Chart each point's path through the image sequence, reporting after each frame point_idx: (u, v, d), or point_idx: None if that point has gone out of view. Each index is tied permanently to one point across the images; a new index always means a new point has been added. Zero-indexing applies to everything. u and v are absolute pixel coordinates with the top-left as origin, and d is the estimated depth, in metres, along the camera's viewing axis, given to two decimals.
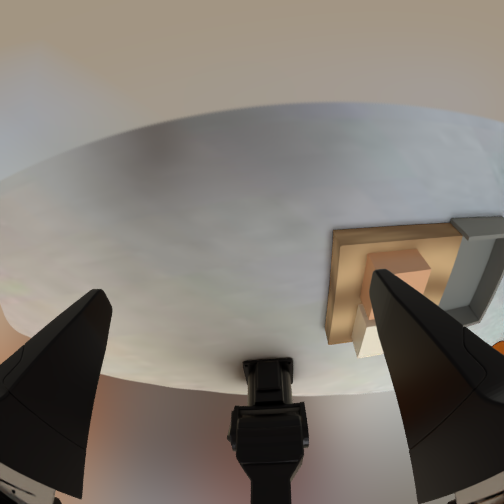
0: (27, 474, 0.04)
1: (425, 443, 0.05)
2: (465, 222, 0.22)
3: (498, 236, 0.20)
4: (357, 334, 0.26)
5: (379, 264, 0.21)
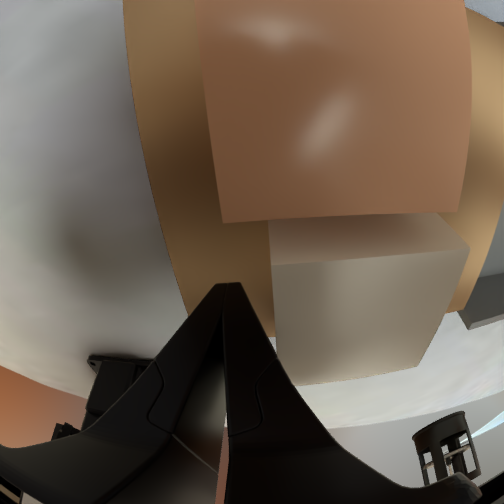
0: None
1: None
2: None
3: None
4: None
5: None
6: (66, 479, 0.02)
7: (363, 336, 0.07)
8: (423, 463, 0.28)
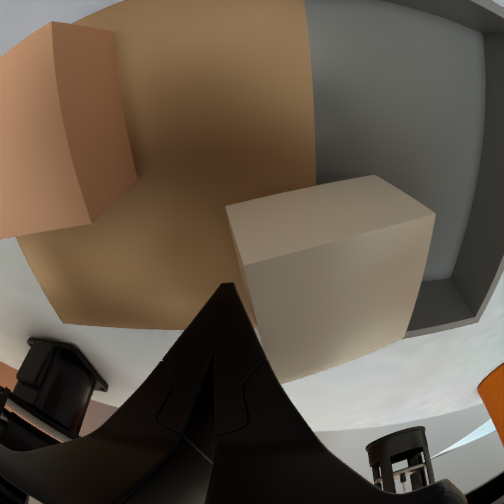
0: None
1: None
2: None
3: None
4: (251, 311, 0.09)
5: None
6: (77, 484, 0.02)
7: (346, 319, 0.07)
8: (377, 477, 0.28)
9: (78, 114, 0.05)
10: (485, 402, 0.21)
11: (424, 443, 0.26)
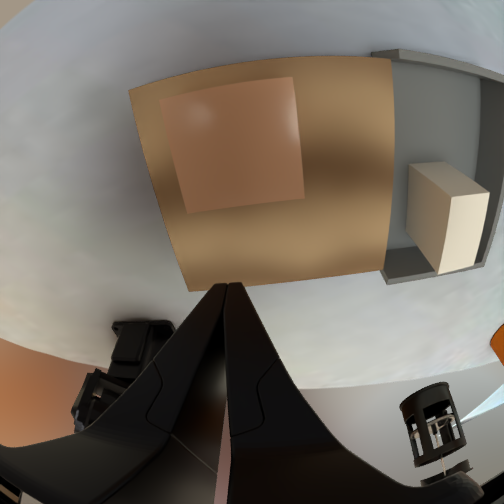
0: None
1: None
2: None
3: (471, 68, 0.09)
4: (462, 241, 0.13)
5: None
6: (65, 478, 0.02)
7: None
8: (411, 433, 0.34)
9: None
10: (498, 353, 0.26)
11: (450, 396, 0.31)
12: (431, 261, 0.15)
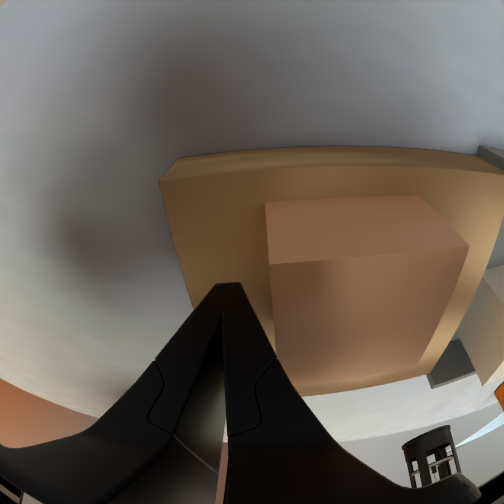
0: None
1: None
2: None
3: None
4: None
5: (288, 228, 0.07)
6: (67, 479, 0.02)
7: None
8: (411, 470, 0.31)
9: None
10: (501, 402, 0.24)
11: (451, 439, 0.29)
12: (479, 372, 0.12)
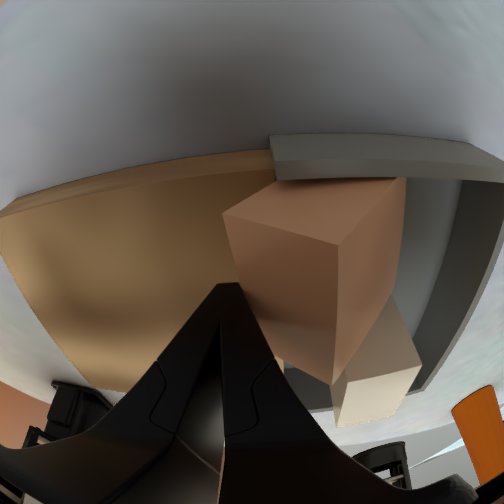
0: None
1: None
2: (313, 138, 0.09)
3: (442, 169, 0.06)
4: (371, 406, 0.10)
5: (292, 216, 0.06)
6: (69, 480, 0.02)
7: None
8: None
9: None
10: (457, 424, 0.24)
11: (403, 456, 0.29)
12: (334, 409, 0.12)
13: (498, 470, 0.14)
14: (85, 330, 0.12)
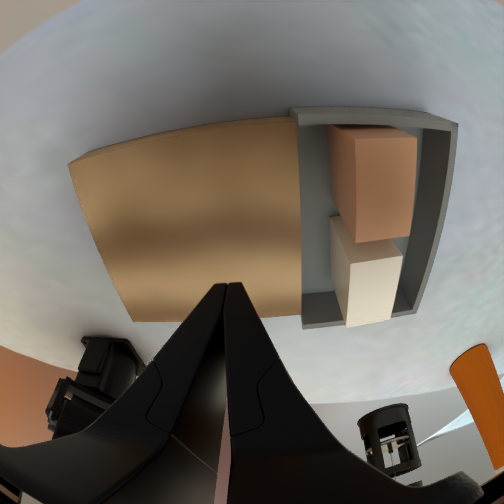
0: None
1: None
2: (317, 108, 0.13)
3: (395, 120, 0.11)
4: (371, 300, 0.15)
5: (385, 135, 0.10)
6: (64, 478, 0.02)
7: None
8: None
9: None
10: (456, 381, 0.29)
11: (407, 418, 0.34)
12: (342, 313, 0.17)
13: (498, 423, 0.19)
14: (144, 253, 0.17)
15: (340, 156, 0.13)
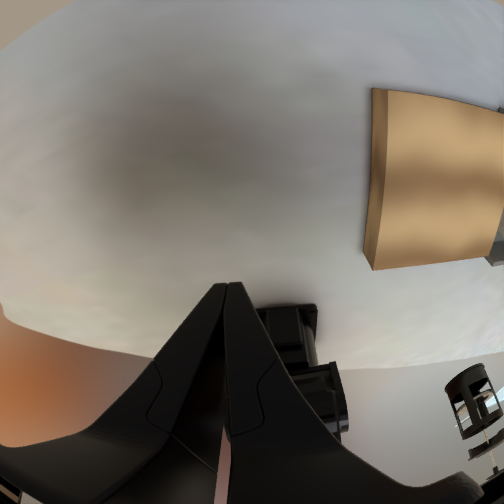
0: None
1: None
2: None
3: None
4: None
5: None
6: (65, 478, 0.02)
7: None
8: (455, 410, 0.36)
9: None
10: None
11: None
12: None
13: None
14: (425, 192, 0.16)
15: None
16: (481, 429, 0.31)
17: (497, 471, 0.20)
